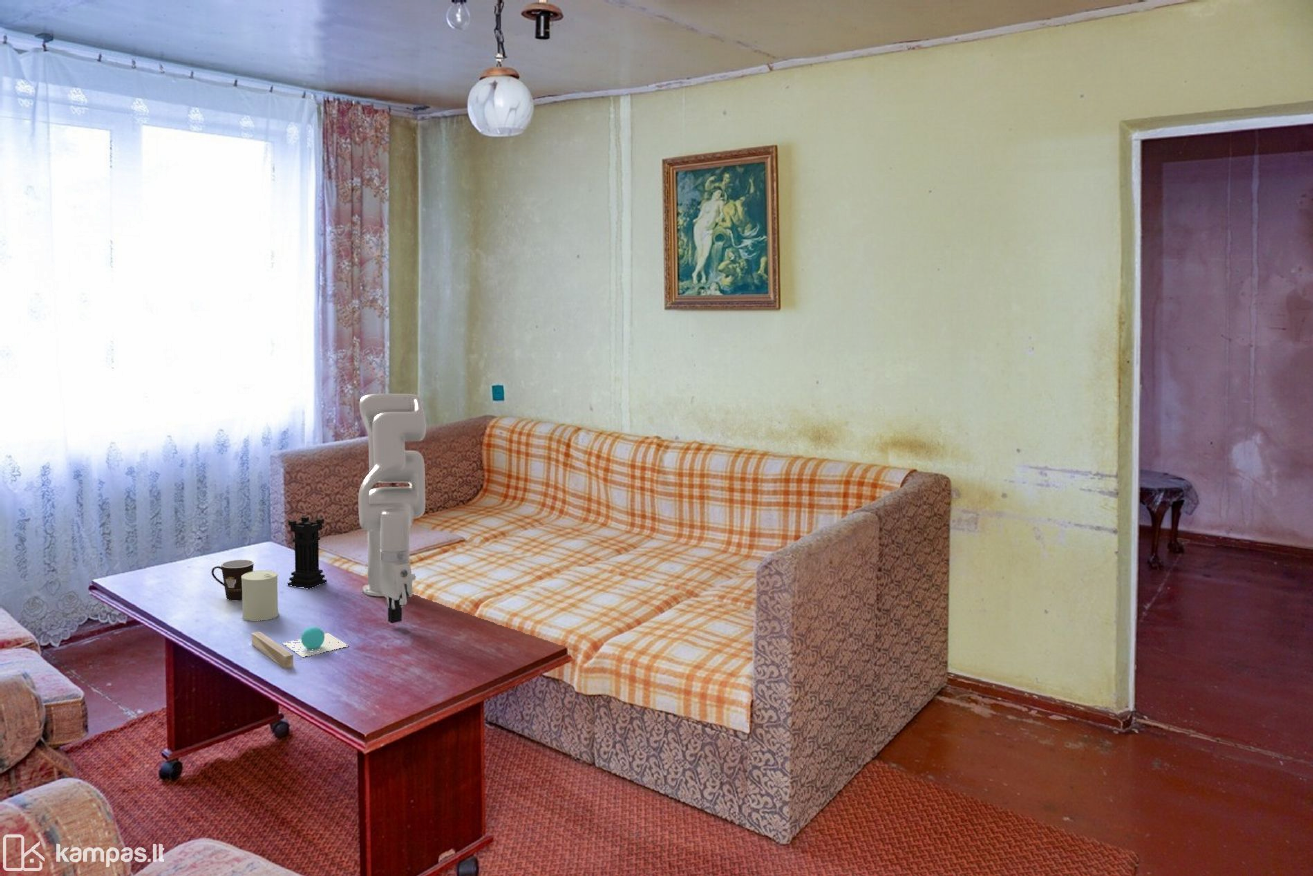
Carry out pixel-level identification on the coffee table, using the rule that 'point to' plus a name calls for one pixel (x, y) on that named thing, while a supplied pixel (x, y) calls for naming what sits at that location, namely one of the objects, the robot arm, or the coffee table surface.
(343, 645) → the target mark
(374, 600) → the coffee table surface
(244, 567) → the coffee mug
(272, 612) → the can
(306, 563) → the chess piece
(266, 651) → the rail
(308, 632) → the ball
